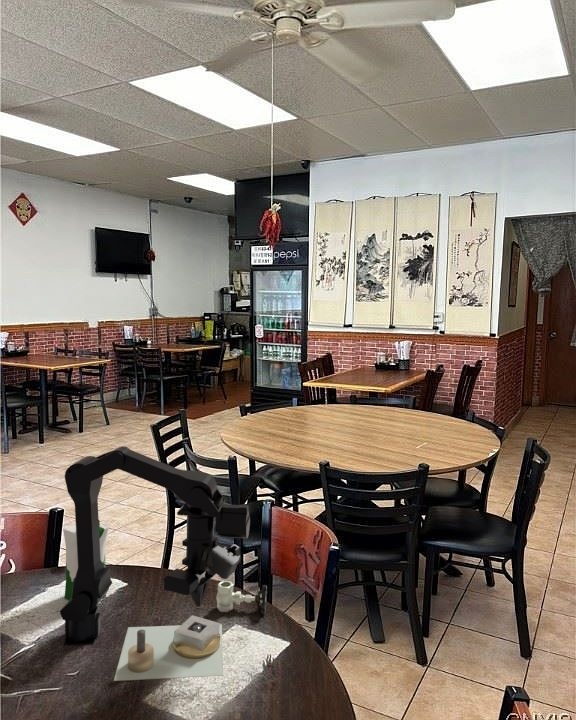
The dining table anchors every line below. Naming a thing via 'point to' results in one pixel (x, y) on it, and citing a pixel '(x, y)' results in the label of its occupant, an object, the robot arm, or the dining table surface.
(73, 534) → the milk carton
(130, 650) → the stand
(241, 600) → the valve
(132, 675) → the mat
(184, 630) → the square ring
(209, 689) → the dining table surface
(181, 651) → the bell
